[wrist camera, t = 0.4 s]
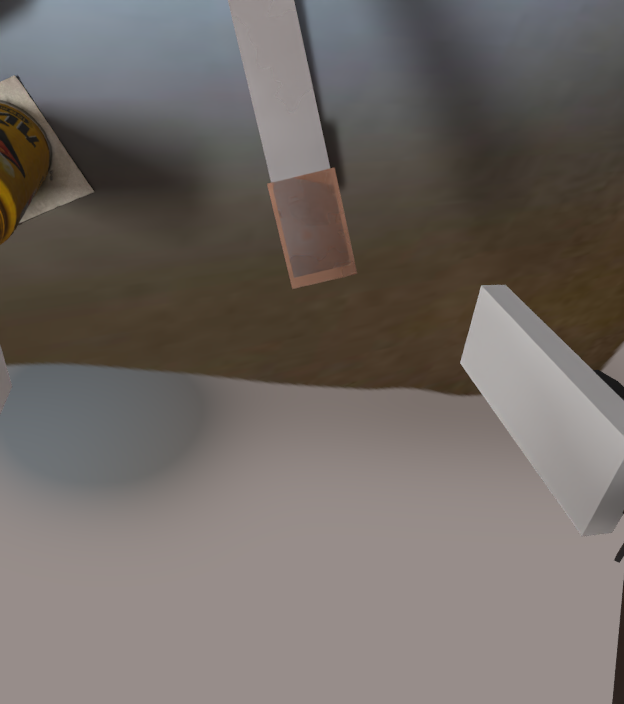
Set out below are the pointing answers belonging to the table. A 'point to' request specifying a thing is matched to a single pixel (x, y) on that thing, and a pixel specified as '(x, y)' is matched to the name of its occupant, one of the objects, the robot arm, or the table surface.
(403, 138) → the table surface
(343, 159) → the table surface
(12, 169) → the condiment
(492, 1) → the table surface
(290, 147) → the bar
